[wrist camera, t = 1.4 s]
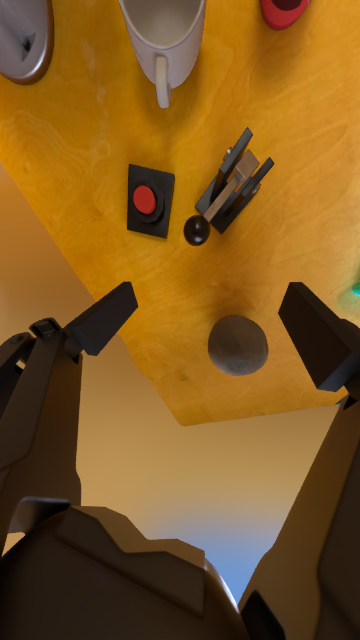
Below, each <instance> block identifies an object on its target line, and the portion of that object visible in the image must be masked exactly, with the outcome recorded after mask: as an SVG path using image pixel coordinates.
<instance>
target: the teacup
mask: <svg viewBox="0 0 360 640" xmlns="http://www.w3.org/2000/svg"><path fill="white" fill-rule="evenodd" d="M119 4H120V7H121V9H122V12H123V15H124V18H125V22H126V26H127V29H128V33H129V36H130V40H131V43H132V46H133V49H134V52H135V55H136V58H137V60H138V62H139V64H140V66H141V68H142V70H143V72H144V73H145V75H146V76H147V77H148V79H149V80H150V81H151V82H152V83H153V84H155V85H156V93H157V100H158V104H159V106H160V107H161V108H167V107H168V106H169V103H170V93H171V89H173V88H175V87H177V86H179V85H181V84H182V83H183V82H184V81H185V80H186V79H187V77H188V76H189V74H190V73H191V71H192V69H193V67H194V65H195V62H196V60H197V57H198V53H199V50H200V45H201V40H202V34H203V26H204V19H205V9H206V0H119Z"/></svg>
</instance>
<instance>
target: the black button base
mask: <svg viewBox="0 0 360 640" xmlns="http://www.w3.org/2000/svg"><path fill="white" fill-rule="evenodd" d="M174 183H175V176H174V174H171V173H167V172H162V171H158V170H154V169H149V168H145V167H141V166H136V165H132V164H129V172H128V212H127V230H131V231H135V232H140V233H144V234H148V235H153V236H157V237H162V238H166V239H167V234H168V226H169V219H170V212H171V205H172V197H173V190H174ZM140 186H146V187H148V188H149V189H150V190H151V191H152V192H153V194H154V195H155V198H156V208H155V210H154V211H153V212H152V213H151V214H144V213H142V212H141V211H139V210H138V209H137V207H136V206H135V203H134V193H135V190H136V189H137V188H138V187H140Z"/></svg>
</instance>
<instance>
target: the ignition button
mask: <svg viewBox="0 0 360 640" xmlns="http://www.w3.org/2000/svg"><path fill="white" fill-rule="evenodd" d="M134 203H135V206H136V207H137V209H138V210H139V211H141V212H142V213H144V214H151V213H152V212H153V211H154V210H155V208H156V198H155V195H154V194H153V192H152V191H151V190H150V189H149V188H148V187H146V186H140V187H138V188H137V189H136V190H135V193H134Z"/></svg>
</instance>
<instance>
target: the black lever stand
mask: <svg viewBox="0 0 360 640" xmlns="http://www.w3.org/2000/svg"><path fill="white" fill-rule="evenodd" d="M252 136H253V134H252V132H251V131H250V130H249V128H248V127H247V128H246V130H245V131H244V133H243V134H242V136H241V137H240V139H239V140H238V142H237V143H236V144H235V146H234V147H233V148H232V147H230V148H229V150H228V151H227V153H226V154H225V156H224V158H223V161H224V162H223V163H222V165H221V166H220V168H219V171H218V174H217V175H216V177H215V178H214V179H213V181H212V182H211V184H210V185H209V187H208V188H207V190H206V191H205V193H204V194H203V195H202V197H201V198H200V200H199V201H198V203H197V204H196V206H195V208H196V209H197V210H198V211H199V212H200V213H201V214H202V216H203V215H204V214H205V213H206V211H207V210H208V209H209V207H210V206H211V205H212V204H213V202H214V201H215V200H216V198H217V197H218V196H219V195H220V193H221V192H222V191H223V189H224V188H225V187H226V186H227V184H228V183H227V182H226V180H227V179H228V177H229V175H230V174H231V172H232V171H233V169H234V167H235V166H236V164H237V163H238V162H239V161H240V159H241V157H242V155H243V153H244V151H245V149H246V147H247V145H248V143H249V141H250V140H251V138H252ZM273 165H274V162H273V161H272V159H271V158H270V157H269V158H268V159H267V160H266V162H265V163H264V164H263V165H262V166H261V168H260V169H259V170H258V171H257V173H256V174H255V175H254V176H253V177H251V176H250V177H249V178H248V179H247V181H246V182H245V183H244V185H243V186H242V187H241V188H240V190H239V191H238V192H237V193H236V192H235V191H233V192H232V193H231V195H230V196H229V197H228V199H227V200H226V201H225V202H224V204H223V205H222V206H221V208H220V209H219V210H218V211H217V213H216V214H215V215H214V217H213V218H212V219H211V220H210V222H209V223H210V224H211V225H212V226H213V227H214V228H215V229H216V230H217V231H218V232H219V233H220V234H222V233H223V232H224V231H225V230H226V229H227V227H228V226H229V225H230V224H231V223H232V221H233V220H234V219H235V218H236V217H237V215H238V214H239V213H240V212H241V211H242V209H243V208H244V207H245V206H246V205H247V203H248V202H249V201H250V200H251V199H252V197H253V196H254V195H255V194H256V192H257V191H258V190H259V189H260V186H261V184H260V181H261V180H262V179H263V177H264V176H265V175H266V174H267V172H268V171H269V170H270V169H271V168H272V166H273Z"/></svg>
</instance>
